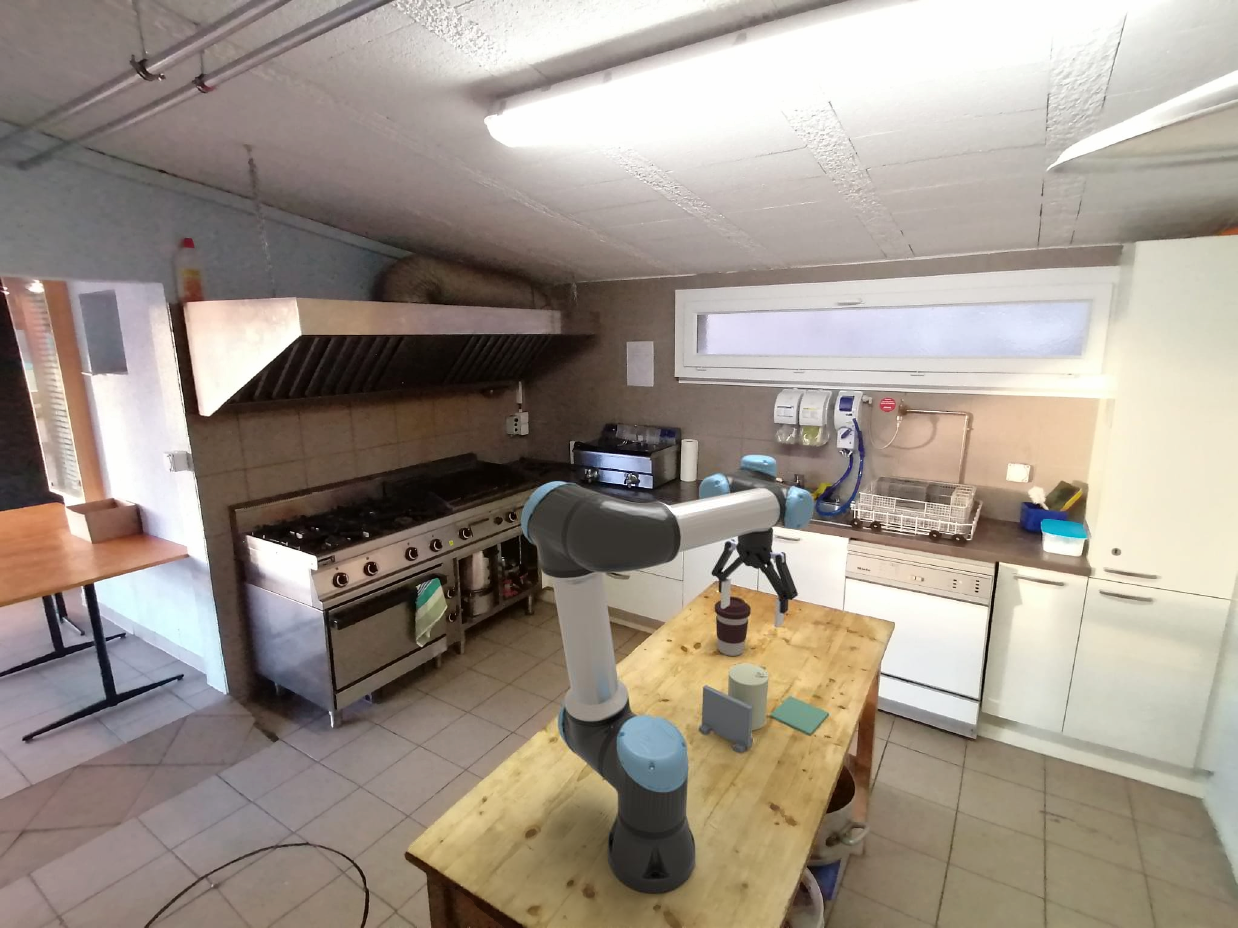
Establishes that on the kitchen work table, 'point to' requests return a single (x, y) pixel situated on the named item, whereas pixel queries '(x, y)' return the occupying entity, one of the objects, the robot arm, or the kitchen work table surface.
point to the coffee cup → (732, 626)
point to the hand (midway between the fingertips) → (751, 615)
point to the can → (750, 689)
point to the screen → (727, 718)
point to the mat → (799, 715)
